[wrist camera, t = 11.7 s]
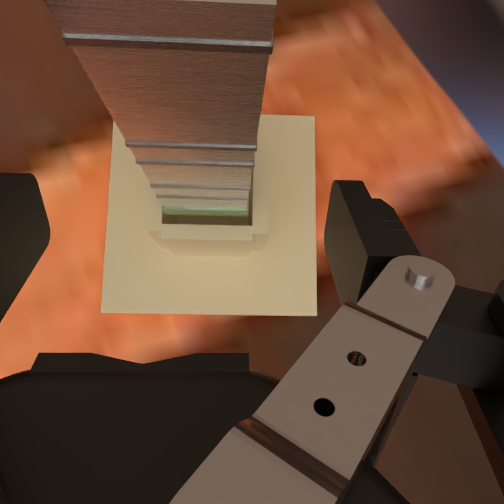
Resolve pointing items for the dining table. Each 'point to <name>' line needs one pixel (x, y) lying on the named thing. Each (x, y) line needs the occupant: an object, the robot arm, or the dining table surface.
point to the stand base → (217, 237)
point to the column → (180, 90)
